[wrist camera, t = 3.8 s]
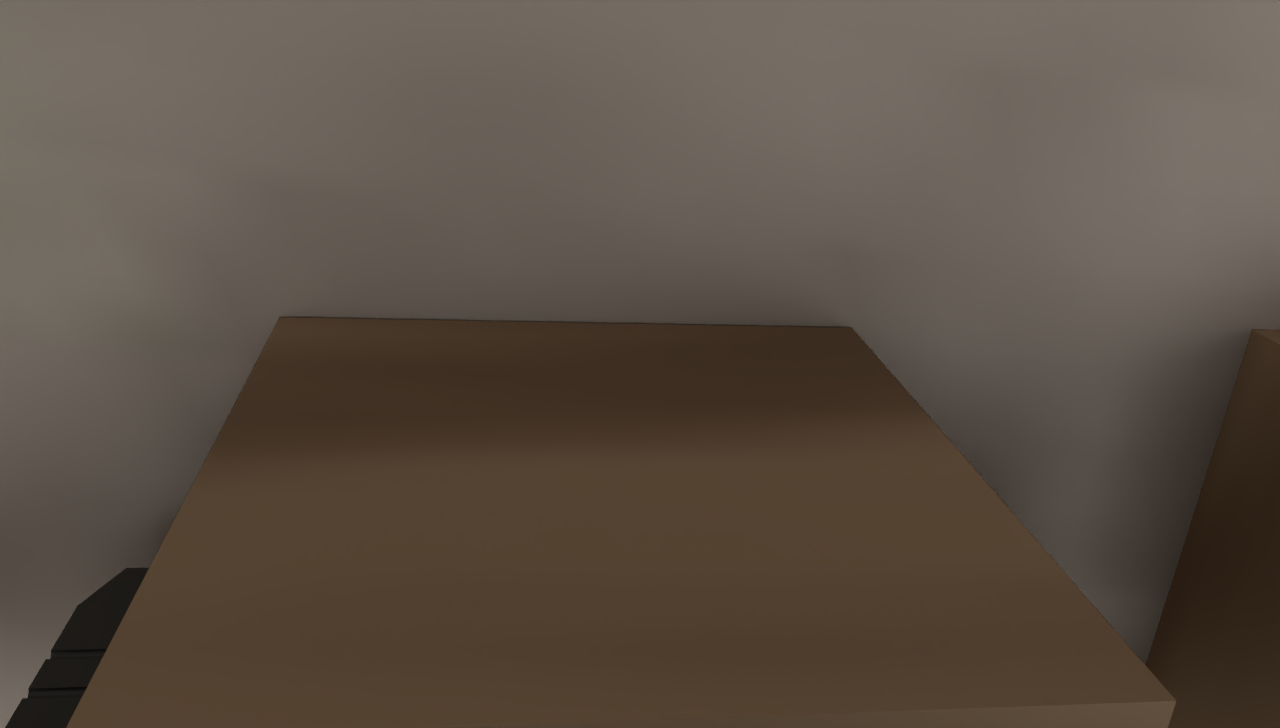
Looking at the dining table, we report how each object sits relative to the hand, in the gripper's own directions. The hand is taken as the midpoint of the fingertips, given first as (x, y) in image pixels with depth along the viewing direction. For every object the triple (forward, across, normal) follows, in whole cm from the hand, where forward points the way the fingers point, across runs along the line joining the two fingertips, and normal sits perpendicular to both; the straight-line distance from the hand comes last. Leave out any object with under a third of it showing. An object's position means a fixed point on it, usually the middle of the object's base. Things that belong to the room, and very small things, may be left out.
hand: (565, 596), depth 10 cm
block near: (0, 0, 0) cm, 0 cm away
